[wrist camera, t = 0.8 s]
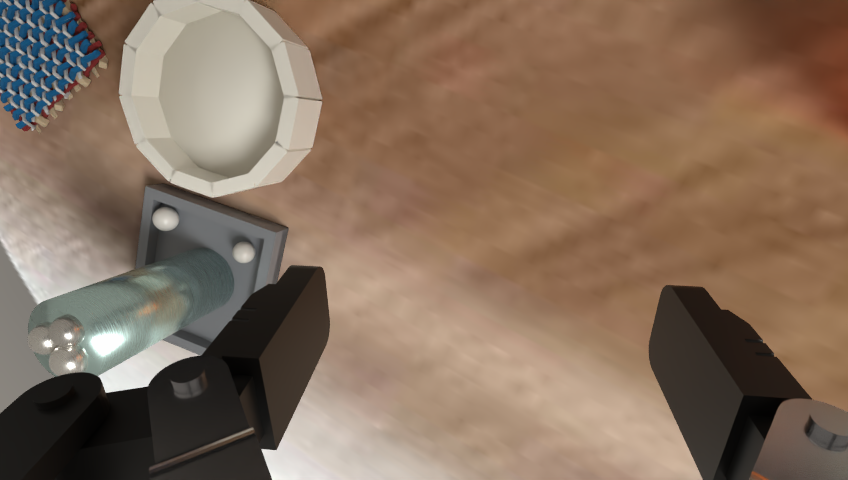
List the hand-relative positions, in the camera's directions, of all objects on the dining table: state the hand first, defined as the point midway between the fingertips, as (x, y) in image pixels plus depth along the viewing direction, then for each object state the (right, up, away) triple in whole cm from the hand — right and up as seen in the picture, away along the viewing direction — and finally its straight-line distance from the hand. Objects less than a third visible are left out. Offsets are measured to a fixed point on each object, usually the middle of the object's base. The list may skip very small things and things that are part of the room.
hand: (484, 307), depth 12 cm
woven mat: (-32, +17, +27) cm, 45 cm away
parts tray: (-18, -1, +27) cm, 33 cm away
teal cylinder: (-19, -1, +26) cm, 32 cm away
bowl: (-15, +12, +23) cm, 30 cm away
